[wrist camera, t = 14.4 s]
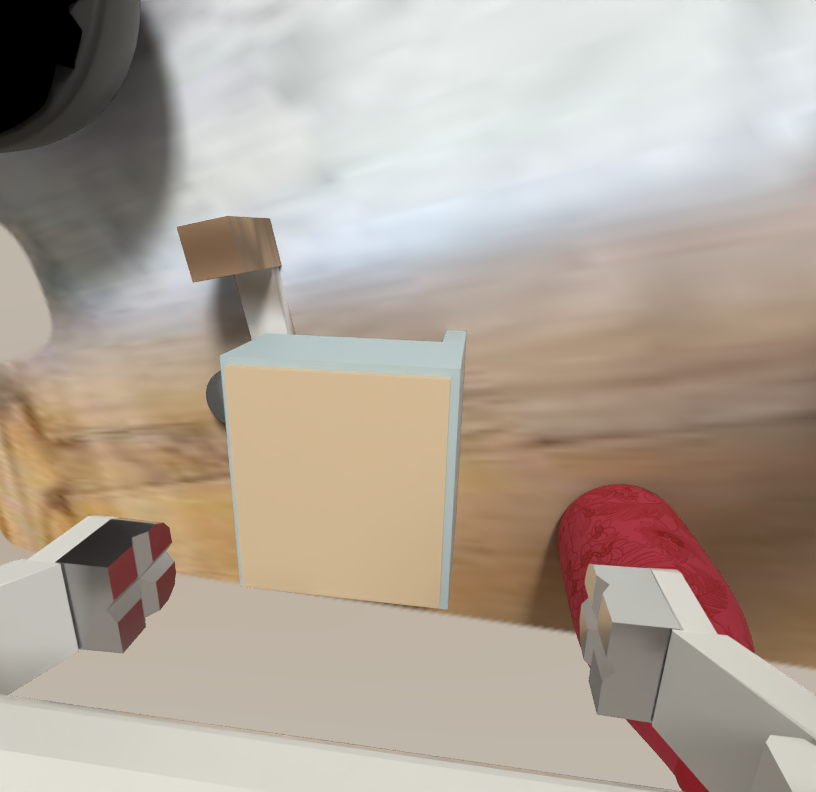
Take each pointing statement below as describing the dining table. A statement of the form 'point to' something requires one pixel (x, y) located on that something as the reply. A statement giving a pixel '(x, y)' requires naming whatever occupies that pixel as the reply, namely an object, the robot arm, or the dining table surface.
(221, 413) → the steel puck
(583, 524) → the wine bottle
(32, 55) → the coal bowl
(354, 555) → the cabinet
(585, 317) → the dining table surface
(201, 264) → the wood-handled metal tool
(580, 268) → the dining table surface
